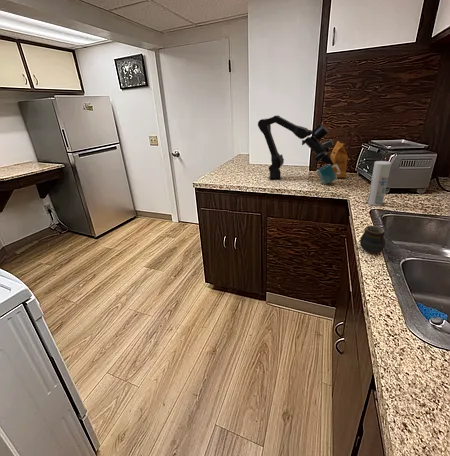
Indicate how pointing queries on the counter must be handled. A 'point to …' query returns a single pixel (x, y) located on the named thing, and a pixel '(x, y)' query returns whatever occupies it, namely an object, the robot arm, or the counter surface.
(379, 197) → the spray can
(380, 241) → the mate gourd
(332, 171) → the mug
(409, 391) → the counter surface
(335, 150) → the coffee package
